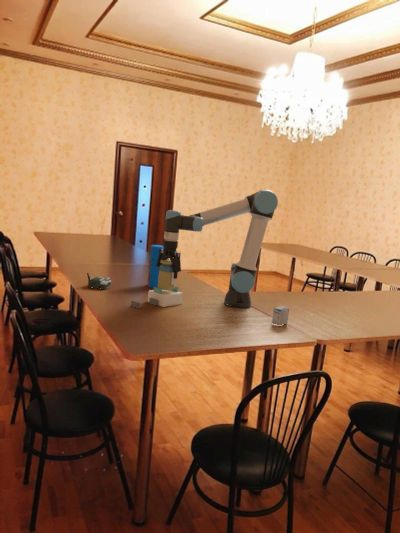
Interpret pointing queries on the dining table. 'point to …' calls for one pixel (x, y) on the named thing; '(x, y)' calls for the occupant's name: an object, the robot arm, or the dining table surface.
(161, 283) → the jar
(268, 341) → the dining table surface
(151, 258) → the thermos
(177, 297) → the block
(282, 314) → the medicine box
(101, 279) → the communication device
